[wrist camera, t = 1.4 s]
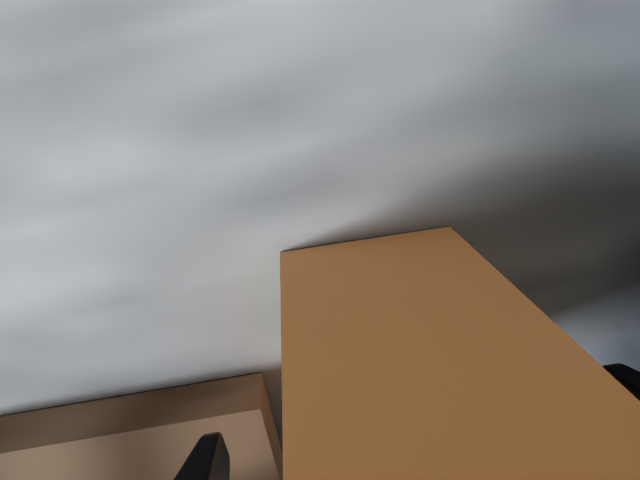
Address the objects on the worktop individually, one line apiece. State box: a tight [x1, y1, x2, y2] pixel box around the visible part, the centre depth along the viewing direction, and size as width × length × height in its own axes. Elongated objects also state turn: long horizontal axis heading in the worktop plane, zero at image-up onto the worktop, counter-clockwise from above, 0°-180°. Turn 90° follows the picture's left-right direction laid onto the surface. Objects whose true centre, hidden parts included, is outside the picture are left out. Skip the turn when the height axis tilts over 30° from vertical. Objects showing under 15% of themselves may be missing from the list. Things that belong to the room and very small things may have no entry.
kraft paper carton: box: [280, 226, 640, 480], centre depth 9 cm, size 5×5×8 cm
